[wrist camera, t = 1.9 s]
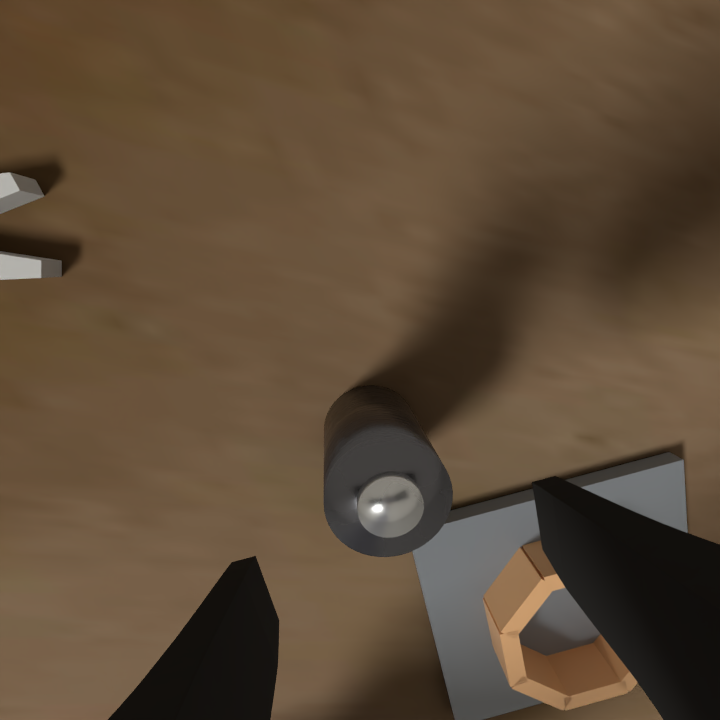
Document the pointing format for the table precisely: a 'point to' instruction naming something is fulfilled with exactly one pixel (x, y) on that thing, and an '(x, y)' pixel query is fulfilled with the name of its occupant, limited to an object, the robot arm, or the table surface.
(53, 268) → the pliers
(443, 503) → the cell
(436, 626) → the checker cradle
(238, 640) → the robot arm
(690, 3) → the table surface
